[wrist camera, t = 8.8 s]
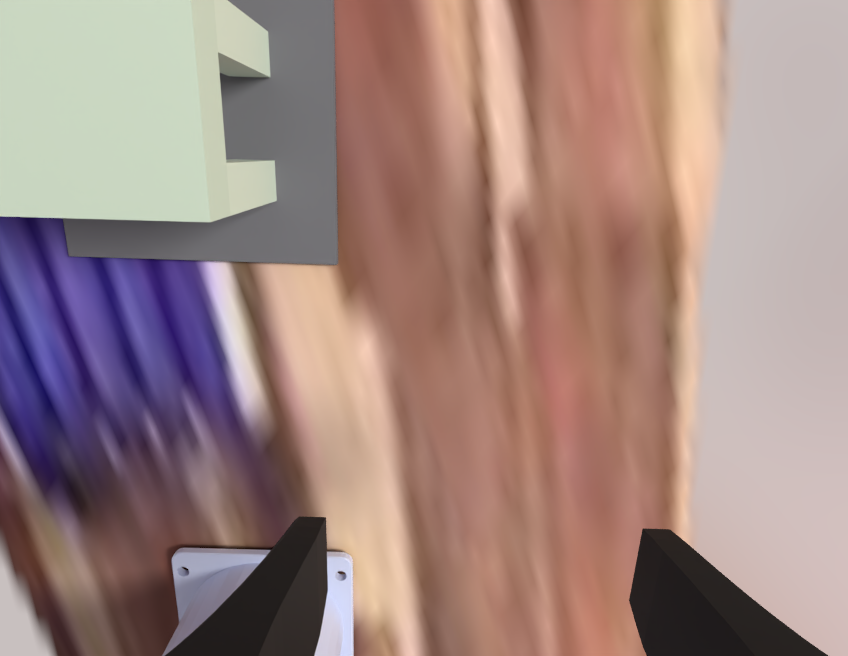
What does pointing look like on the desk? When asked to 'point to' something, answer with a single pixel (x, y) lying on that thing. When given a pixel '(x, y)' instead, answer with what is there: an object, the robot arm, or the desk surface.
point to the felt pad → (259, 157)
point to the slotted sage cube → (125, 110)
